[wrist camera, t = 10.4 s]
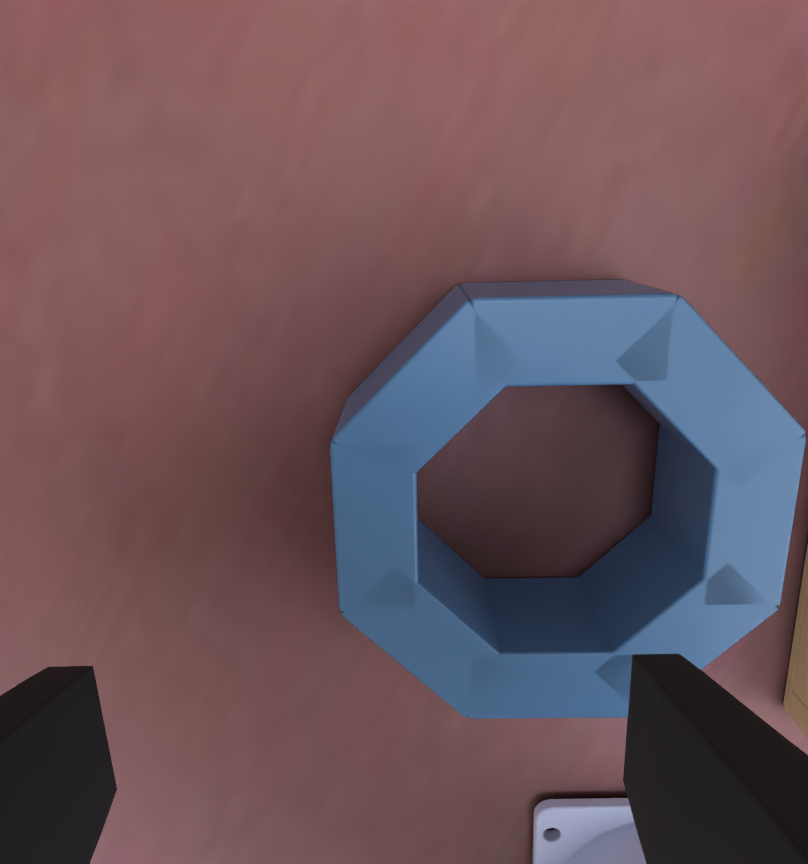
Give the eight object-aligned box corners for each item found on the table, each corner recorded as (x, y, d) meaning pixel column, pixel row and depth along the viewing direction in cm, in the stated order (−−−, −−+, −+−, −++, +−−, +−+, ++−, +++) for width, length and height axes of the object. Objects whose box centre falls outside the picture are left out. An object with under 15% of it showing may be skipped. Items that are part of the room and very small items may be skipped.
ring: (703, 631, 19) (763, 717, 16) (356, 635, 20) (344, 721, 16) (746, 276, 16) (831, 290, 13) (339, 285, 17) (320, 300, 13)
